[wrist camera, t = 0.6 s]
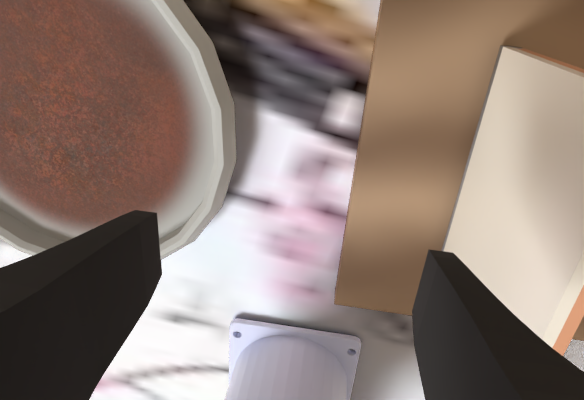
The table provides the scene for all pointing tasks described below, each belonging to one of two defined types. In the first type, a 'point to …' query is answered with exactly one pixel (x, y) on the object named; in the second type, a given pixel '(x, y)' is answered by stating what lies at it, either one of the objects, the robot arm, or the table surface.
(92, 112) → the frying pan
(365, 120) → the board
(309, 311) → the table surface
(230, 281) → the table surface
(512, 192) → the tile
